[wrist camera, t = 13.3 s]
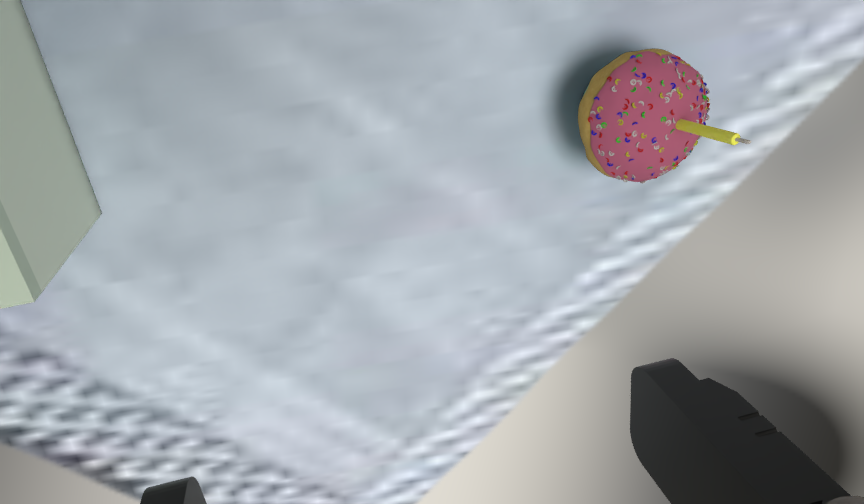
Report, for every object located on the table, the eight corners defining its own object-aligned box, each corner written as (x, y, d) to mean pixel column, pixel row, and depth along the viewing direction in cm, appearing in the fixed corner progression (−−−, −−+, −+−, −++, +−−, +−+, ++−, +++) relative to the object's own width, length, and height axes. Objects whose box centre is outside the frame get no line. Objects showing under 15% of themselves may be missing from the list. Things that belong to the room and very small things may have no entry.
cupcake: (670, 36, 43) (799, 56, 32) (660, 155, 47) (773, 208, 36) (554, 49, 42) (649, 75, 31) (553, 170, 45) (638, 231, 34)
